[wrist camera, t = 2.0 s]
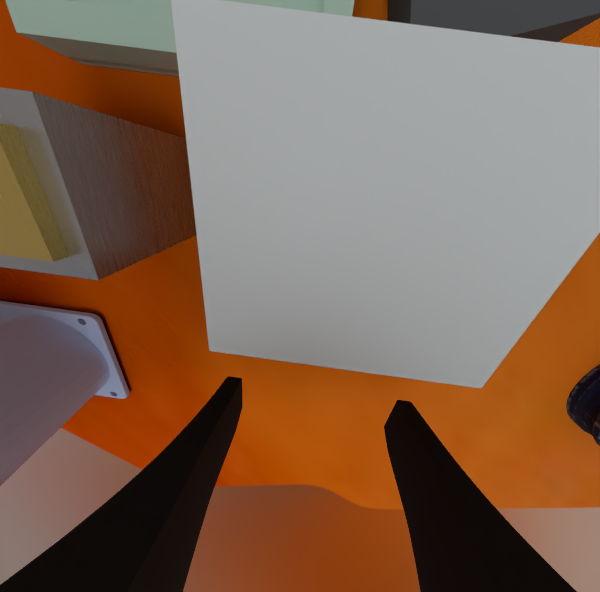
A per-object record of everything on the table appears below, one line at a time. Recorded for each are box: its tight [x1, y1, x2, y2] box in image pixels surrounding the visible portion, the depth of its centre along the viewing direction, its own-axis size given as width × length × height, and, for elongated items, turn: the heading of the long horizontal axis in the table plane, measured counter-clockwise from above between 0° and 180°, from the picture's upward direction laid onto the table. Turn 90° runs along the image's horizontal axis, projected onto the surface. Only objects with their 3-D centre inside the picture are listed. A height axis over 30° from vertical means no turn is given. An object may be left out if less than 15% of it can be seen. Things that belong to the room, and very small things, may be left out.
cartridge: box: [0, 88, 197, 280], centre depth 8 cm, size 4×4×6 cm
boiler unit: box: [171, 0, 600, 388], centre depth 7 cm, size 8×6×7 cm
